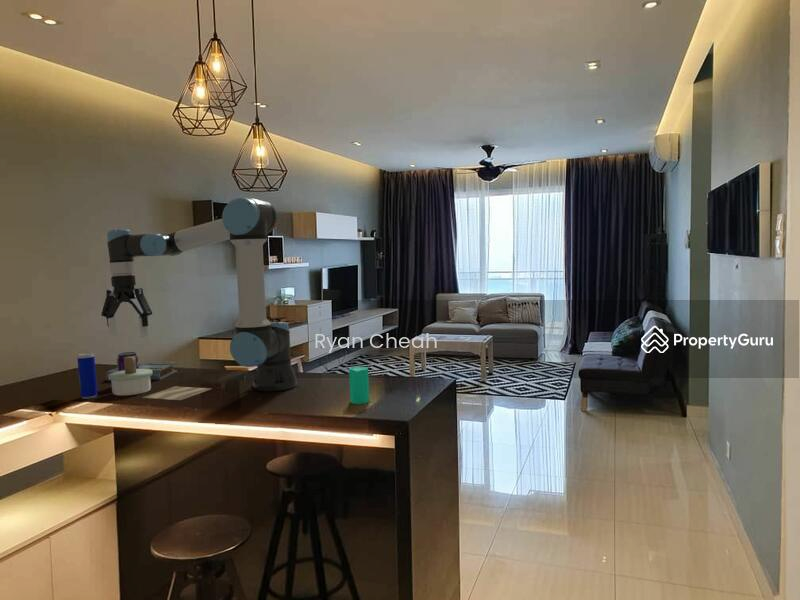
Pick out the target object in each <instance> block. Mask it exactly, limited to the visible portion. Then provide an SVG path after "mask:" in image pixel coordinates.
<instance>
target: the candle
mask: <svg viewBox="0 0 800 600" xmlns="http://www.w3.org/2000/svg"><path fill="white" fill-rule="evenodd" d="M369 374H370V373H369V367H368V366H360V365H359V363H358V364H357V366H350V367H349V368H348V376H349V394H350V395H349V398H350V399H349V400H350V403H351V404H354V405H355V404H356V405H361V404H363V405H364V404H367V403H369V402H370V382H369V381H370V380H369V379H370V378H369V377H370V376H369Z"/></svg>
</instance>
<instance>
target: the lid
mask: <svg viewBox="0 0 800 600" xmlns="http://www.w3.org/2000/svg"><path fill="white" fill-rule="evenodd" d="M124 367H125V370H123V371H118V372H114V373H111V374H109V375H108V377H109V380H113V381H125V380H135V379H141V378H145V377H149V376H151V375H152V374H153V372H152V370H151V369H136V361H135V356H129V357H124Z"/></svg>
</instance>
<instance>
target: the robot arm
mask: <svg viewBox="0 0 800 600" xmlns="http://www.w3.org/2000/svg"><path fill="white" fill-rule="evenodd" d="M277 223H278V213H277V210H276V208H275V207H274V205H272V203H270V202H268V201H266V200H262V199H256V198H251V197H237V198H234V199H232V200H230V201H229V202H227V205H225V206H224V208H223V211H222V216H221V218H220V219H216V220H211V221H209V222H204V223H201V224H198V225H194V226H192V227H187V228H184V229H180V230H178V231H174V232H170V233H166V234H165V233H164V234H160V233H155V232H152V233H151V232H149V233H141V234H140V233H139V234H132V232H131V229H110V230H108V231H107V235H106V237H107V238H106V239H107V242H106V243H107V249H108V257H109V258H108V259H109V273H110V275H112V276H111V277H110V281H111V287H113V288H111V289H106V292H105V293H106V297H105V299H104V304H103V307H102V311H101V314H100V315H101V317H105V318H106V323H107V324H106V325H107V328H108V333H109V337H110V338H112V337H116V336H118V327H117V326H118V325H117V317H116V316H115V314H116V312H117V311H118V309H119V307H120V306H121V304H122V303H128V304H130V305H131V306H132V308H133V309H134V310H135V311H136V312H137V314H138V315H139V317H138V326H139V336H140V337H141V338H143V337H148V336H149V333H148V326H149V318H148V317H149V316H151V315H153V311H152V309H151V307H150V305H149V303H148V300H147V299H146V297H145V294H144V289H143V288H142V287H138V288H136V287H135V286H136V276H135V262H134V258H136V257H137V258H139V257H157V256H159V257H160V256H171V257H172V256H173V257H174V256H180V255H181V254H183V252H187V251H191V250H195V249H198V248H202V247H205V246H206V247H207V246H209V245H213V244H217V243H220V242H224V241H228V240H229V242H231V244H232V245H234V247H235V263H236V264H235V266H236V280H237V281H236V283H237V297H238V298H237V301H238V302H237V303H238V318H239V319H238V321H237V322H236V323H235V324H234V333H235V334H234V336H233V337H232V339H231V340H230V342H229V353H230V354H231V357H232V358H233V360H234V362H236V363H237V364H238V365H240V366H241V367H242V366H243V367H245V368H253V367H256V369H255V374H254V377H253V381H252V386H253V391H254V390H255V391H257V392H278V391H286V390H289V389H294V388H295V387H297V386H298V381H297V380H298V379H297V375H296V373H295V371H294V368H293V366H292V359H291V341H290V340H291V338H290V334H291V331H290V326H289V324H288V323H287V322H286V321H270V320H268V318H267V306H266V305H267V304H266V291H265V288H266V286H265V267H264V264H265V263H264V247H263V246H264V244H265V243H266V242H267V241H268V234H269V233H271V232H273V230H274V229H275V228H276V226H277Z"/></svg>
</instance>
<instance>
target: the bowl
mask: <svg viewBox="0 0 800 600" xmlns="http://www.w3.org/2000/svg"><path fill="white" fill-rule="evenodd" d="M151 381H152V380H150V376H149V377H145V378H141V379H135V380H125V381H113V380H111V381H110V382H111V392H112V395H115V396H133V395H139V394H143V393H146V392H149V391H151V388H152V384H151V383H152V382H151Z"/></svg>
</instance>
